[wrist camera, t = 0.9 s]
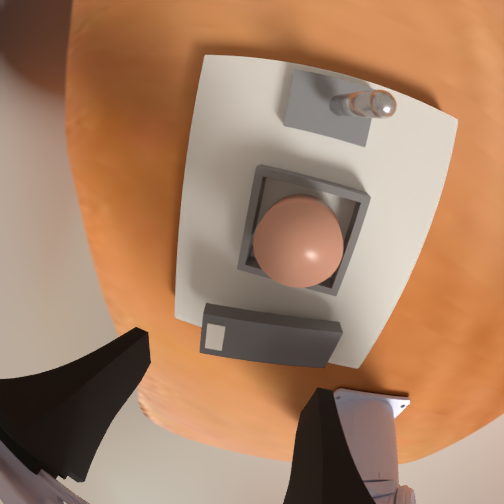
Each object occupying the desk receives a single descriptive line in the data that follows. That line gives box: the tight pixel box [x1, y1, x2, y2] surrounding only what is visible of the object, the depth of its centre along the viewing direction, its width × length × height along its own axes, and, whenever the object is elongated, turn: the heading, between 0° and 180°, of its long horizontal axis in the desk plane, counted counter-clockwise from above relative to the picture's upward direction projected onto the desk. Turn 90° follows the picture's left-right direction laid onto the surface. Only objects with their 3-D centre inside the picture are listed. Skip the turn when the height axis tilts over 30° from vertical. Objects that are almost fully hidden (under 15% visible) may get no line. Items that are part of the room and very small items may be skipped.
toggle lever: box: [328, 90, 397, 119], centre depth 8 cm, size 1×1×4 cm
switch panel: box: [175, 55, 458, 369], centre depth 15 cm, size 18×14×3 cm
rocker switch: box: [200, 303, 343, 368], centre depth 15 cm, size 3×8×1 cm, turn 80°
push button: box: [253, 194, 343, 288], centre depth 13 cm, size 4×4×2 cm
